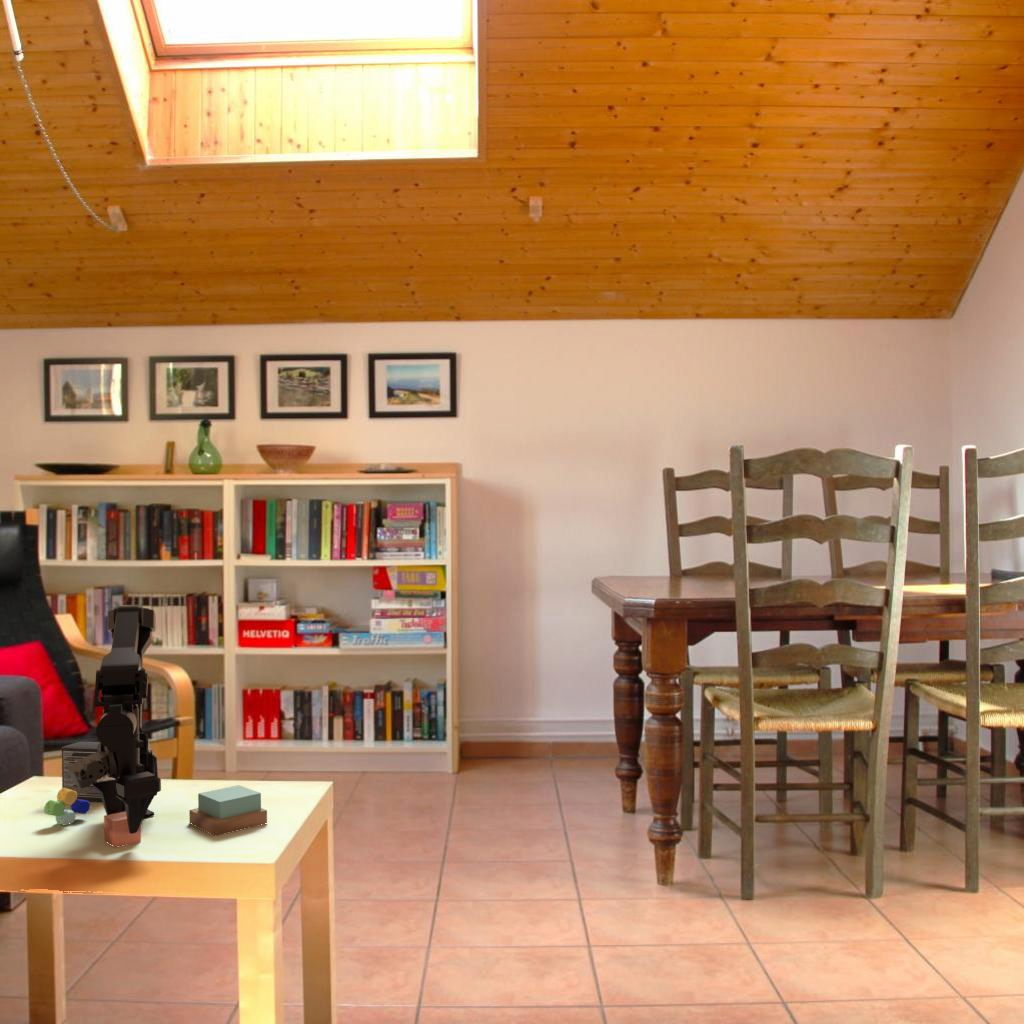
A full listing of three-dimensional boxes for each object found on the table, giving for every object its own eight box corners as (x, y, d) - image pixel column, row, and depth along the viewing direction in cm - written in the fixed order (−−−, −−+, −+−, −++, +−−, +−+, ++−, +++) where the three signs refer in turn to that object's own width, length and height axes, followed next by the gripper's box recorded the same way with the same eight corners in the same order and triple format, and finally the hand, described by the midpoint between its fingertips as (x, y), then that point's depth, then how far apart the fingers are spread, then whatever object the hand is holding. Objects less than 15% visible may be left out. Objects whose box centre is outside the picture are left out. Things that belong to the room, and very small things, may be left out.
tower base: (189, 826, 188) (189, 810, 188) (240, 815, 195) (240, 799, 195) (214, 839, 180) (214, 821, 180) (267, 827, 187) (266, 810, 187)
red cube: (104, 842, 178) (103, 815, 178) (130, 836, 181) (130, 810, 181) (114, 848, 175) (114, 821, 175) (140, 842, 178) (140, 815, 178)
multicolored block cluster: (83, 816, 193) (82, 781, 193) (91, 818, 192) (91, 783, 192) (42, 827, 187) (42, 791, 187) (50, 829, 185) (50, 793, 185)
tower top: (198, 810, 188) (198, 793, 188) (238, 801, 193) (238, 785, 193) (220, 819, 182) (220, 802, 182) (261, 809, 187) (260, 793, 187)
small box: (128, 794, 208) (127, 741, 208) (108, 803, 202) (107, 749, 202) (81, 791, 211) (80, 739, 211) (60, 800, 204) (59, 746, 204)
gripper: (53, 734, 179) (54, 825, 179) (93, 752, 166) (94, 850, 166) (118, 725, 187) (119, 812, 187) (161, 741, 173) (162, 835, 173)
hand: (122, 827), depth 178 cm, fingers open, 9 cm apart
